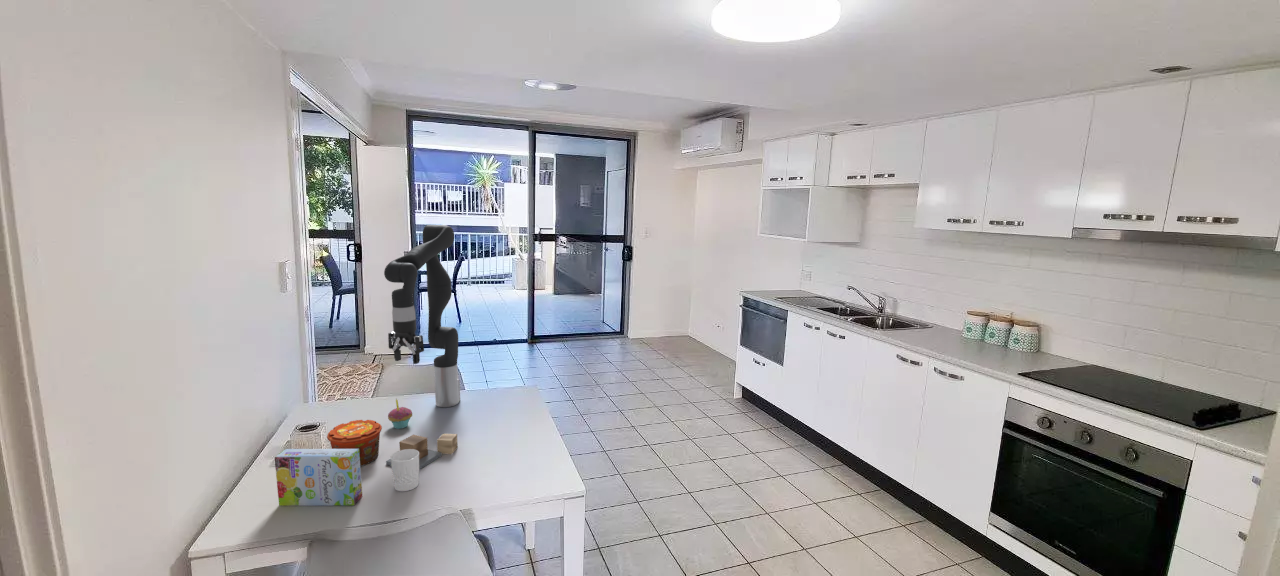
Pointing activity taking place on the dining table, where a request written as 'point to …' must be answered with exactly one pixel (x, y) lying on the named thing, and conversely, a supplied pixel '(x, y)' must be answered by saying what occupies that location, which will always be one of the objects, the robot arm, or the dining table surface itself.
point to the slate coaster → (424, 458)
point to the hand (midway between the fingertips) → (407, 361)
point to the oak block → (447, 443)
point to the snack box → (318, 477)
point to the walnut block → (415, 444)
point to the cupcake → (400, 416)
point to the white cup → (405, 469)
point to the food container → (357, 438)
